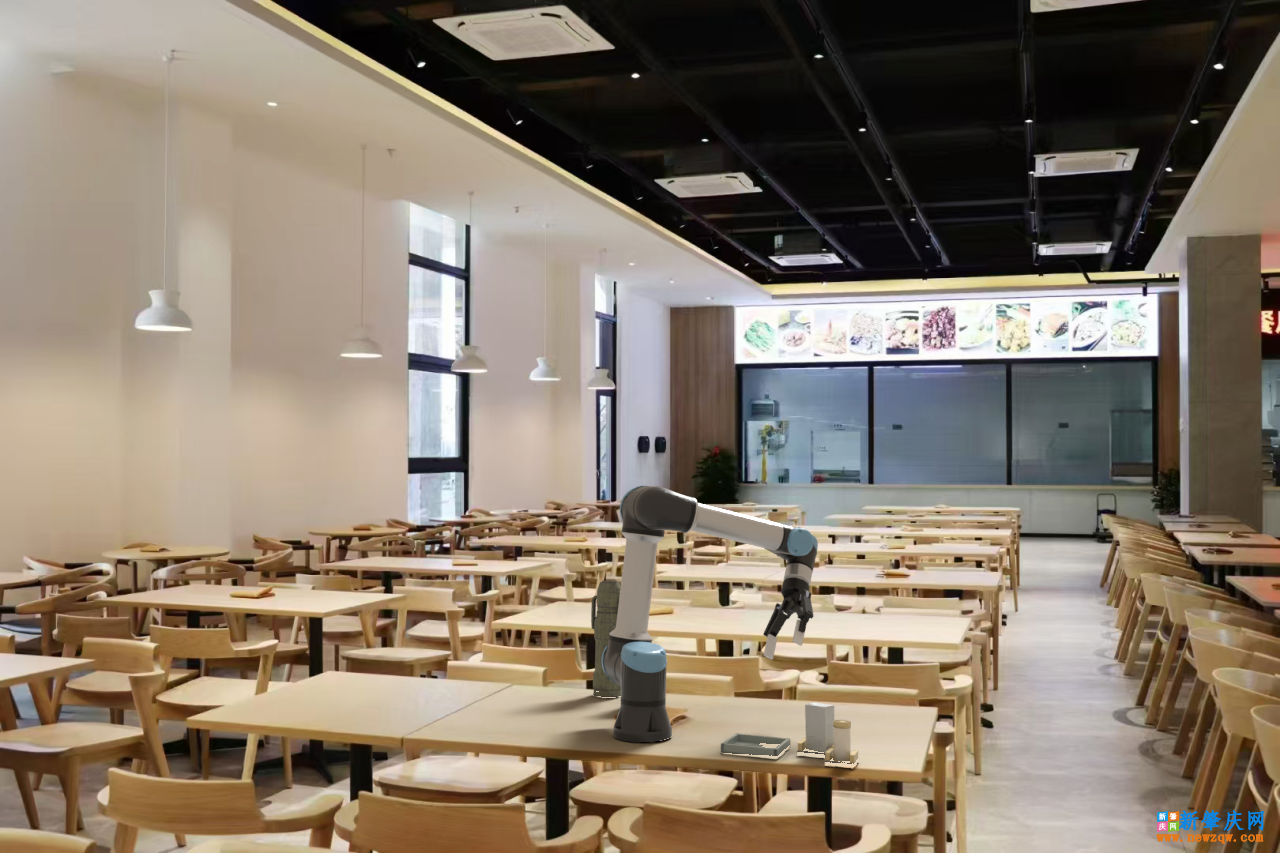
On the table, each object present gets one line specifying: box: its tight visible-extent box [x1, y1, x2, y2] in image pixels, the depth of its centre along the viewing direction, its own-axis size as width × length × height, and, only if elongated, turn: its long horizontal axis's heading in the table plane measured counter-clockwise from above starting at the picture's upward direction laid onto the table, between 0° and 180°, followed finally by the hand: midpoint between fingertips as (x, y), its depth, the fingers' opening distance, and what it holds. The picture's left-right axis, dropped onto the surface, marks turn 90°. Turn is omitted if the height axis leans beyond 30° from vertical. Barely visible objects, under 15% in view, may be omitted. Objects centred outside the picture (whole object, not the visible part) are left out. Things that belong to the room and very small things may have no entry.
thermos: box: [590, 580, 621, 697], centre depth 353 cm, size 9×12×35 cm
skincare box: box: [804, 701, 835, 753], centre depth 282 cm, size 6×4×12 cm
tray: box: [720, 733, 791, 756], centre depth 283 cm, size 14×13×2 cm
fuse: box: [833, 719, 852, 762], centre depth 271 cm, size 4×4×10 cm
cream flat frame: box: [796, 736, 859, 764], centre depth 277 cm, size 15×16×3 cm
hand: (782, 650), depth 310 cm, fingers open, 13 cm apart
